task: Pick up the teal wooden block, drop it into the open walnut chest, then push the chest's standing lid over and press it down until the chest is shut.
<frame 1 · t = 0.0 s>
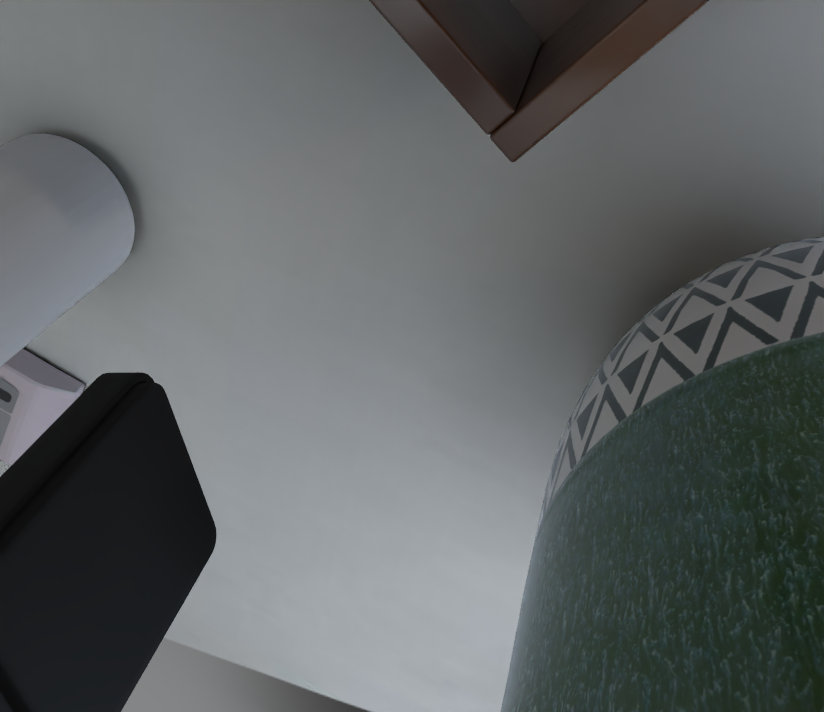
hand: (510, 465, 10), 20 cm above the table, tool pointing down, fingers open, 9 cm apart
planter: (797, 373, 31), on the table
beverage can: (76, 200, 34), on the table
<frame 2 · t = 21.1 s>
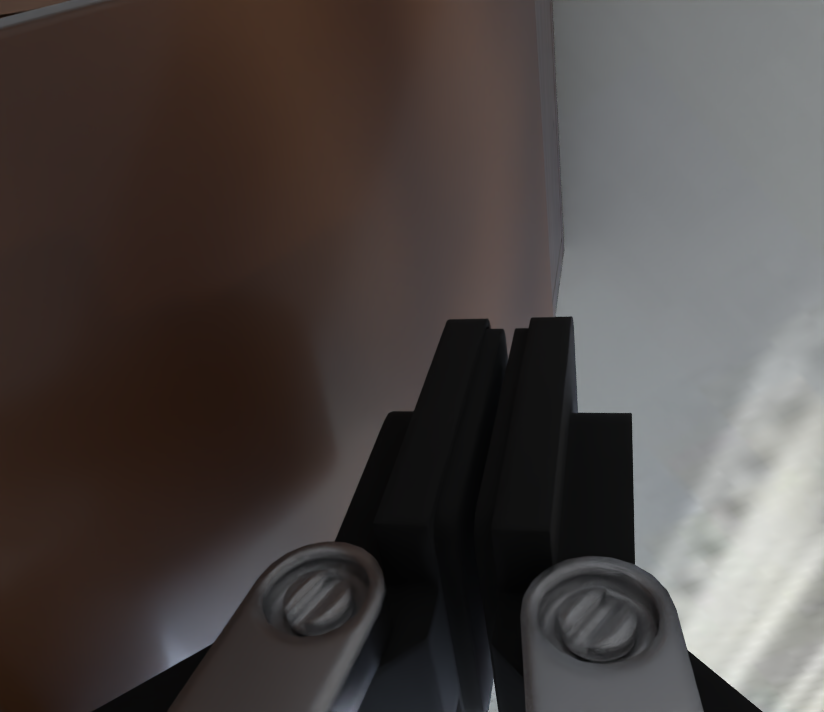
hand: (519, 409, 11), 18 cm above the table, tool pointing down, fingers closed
chest: (355, 104, 27), on the table
lid: (390, 359, 12), point 16 cm above the table, hinge at 77.9°, touching gripper
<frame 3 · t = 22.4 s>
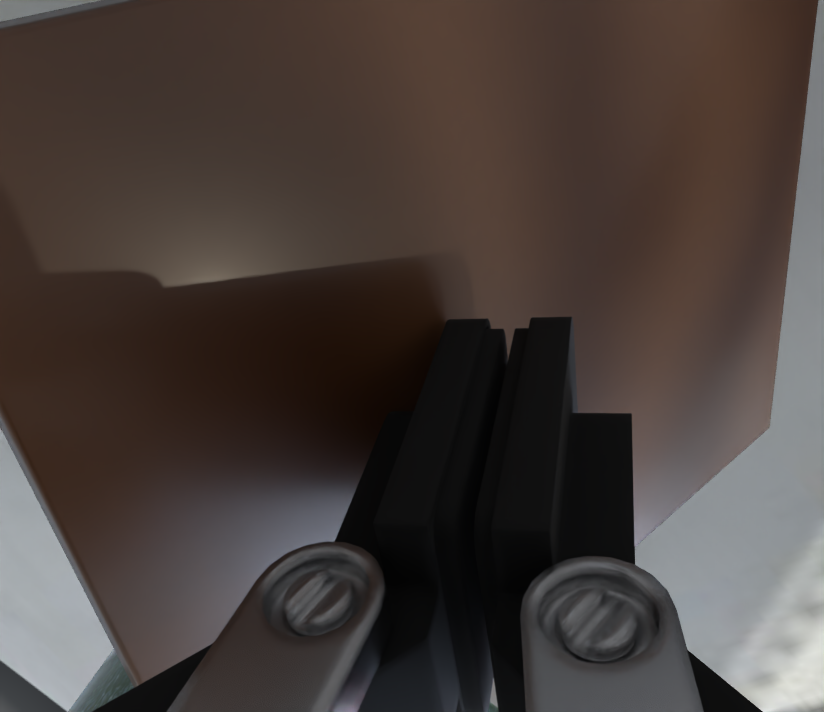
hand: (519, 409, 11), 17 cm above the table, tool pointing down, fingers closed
planter: (400, 550, 38), on the table
lid: (536, 338, 12), point 15 cm above the table, hinge at 52.7°
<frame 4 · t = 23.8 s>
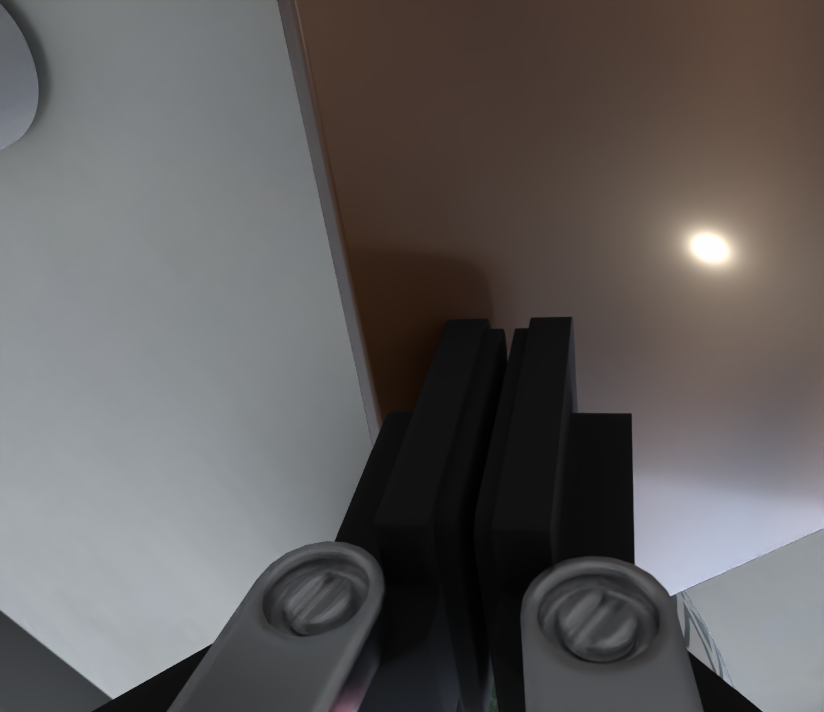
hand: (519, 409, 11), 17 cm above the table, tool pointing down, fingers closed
planter: (516, 557, 37), on the table
lid: (788, 278, 13), point 13 cm above the table, hinge at 33.6°
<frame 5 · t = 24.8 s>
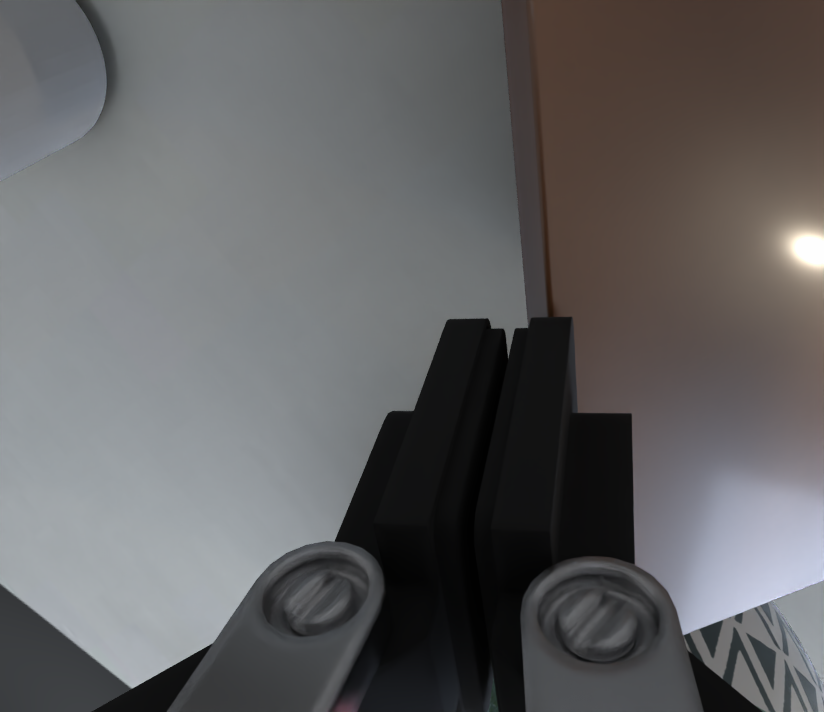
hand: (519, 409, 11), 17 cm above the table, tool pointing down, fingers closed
planter: (579, 561, 36), on the table
beverage can: (39, 50, 28), on the table
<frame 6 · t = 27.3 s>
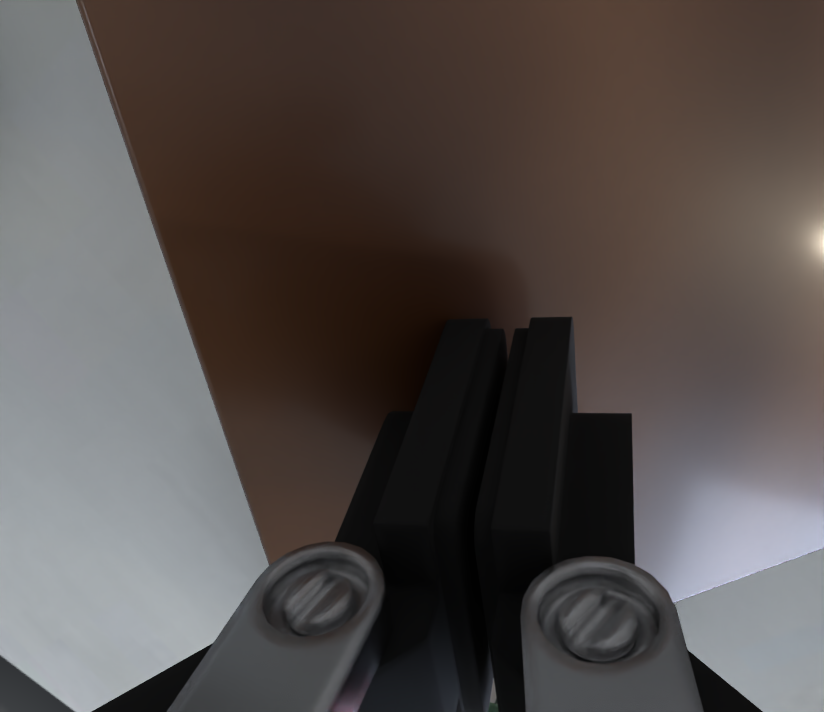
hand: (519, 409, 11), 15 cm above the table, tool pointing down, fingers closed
lid: (700, 312, 12), point 13 cm above the table, hinge at 29.2°, touching gripper
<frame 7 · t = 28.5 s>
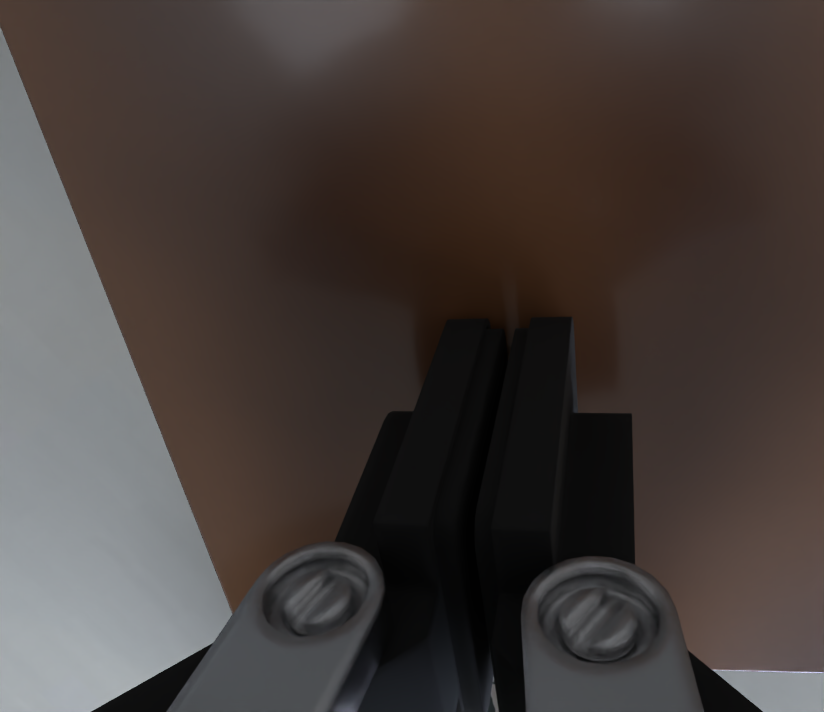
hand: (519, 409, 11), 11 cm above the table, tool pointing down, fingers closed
lid: (642, 374, 11), point 10 cm above the table, hinge at 4.4°, touching gripper
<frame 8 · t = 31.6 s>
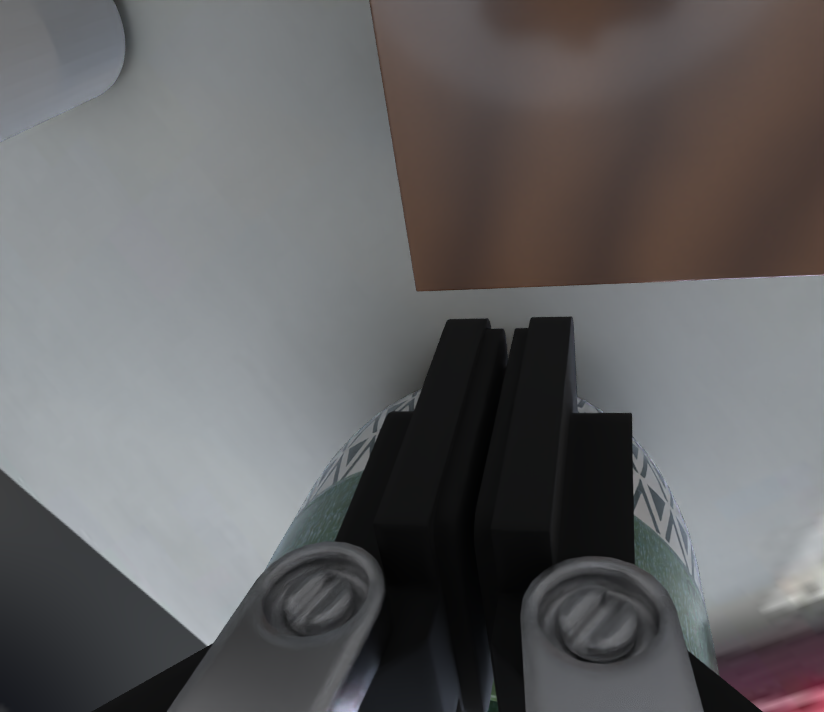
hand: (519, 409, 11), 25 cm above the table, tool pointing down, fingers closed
planter: (512, 449, 44), on the table
lid: (629, 99, 23), point 9 cm above the table, hinge at 0.9°
beverage can: (71, 22, 36), on the table
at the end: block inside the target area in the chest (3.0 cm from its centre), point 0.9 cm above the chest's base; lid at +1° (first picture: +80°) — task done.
